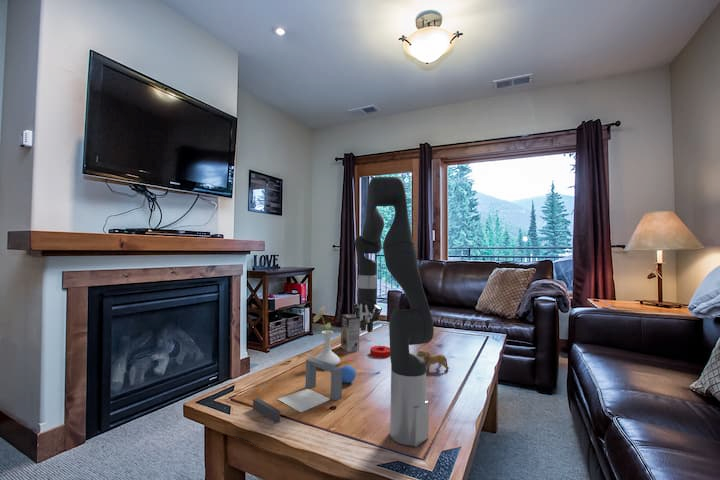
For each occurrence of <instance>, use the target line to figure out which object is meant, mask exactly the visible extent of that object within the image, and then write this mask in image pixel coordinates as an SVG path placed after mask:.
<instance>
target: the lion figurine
mask: <svg viewBox="0 0 720 480" xmlns="http://www.w3.org/2000/svg"><path fill="white" fill-rule="evenodd" d="M416 355H417V356H419V357H421V358H423V359H424V360H425V361H426V374H429V373H430V365H436V364H437V365H438V367H436V368H435V369H436V370H438V371H439V370H440V369H441V367H444V368H445V369H444V372H445V373H449V369H450V367H449V366H448V361H447V358H446V356H445V355H443V354H441V353H437V354H431V353H429V351H428V352H427V351H425V350H424V349H419V350H418V351H417V353H416Z"/></svg>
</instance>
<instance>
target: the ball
mask: <svg viewBox="0 0 720 480" xmlns="http://www.w3.org/2000/svg"><path fill="white" fill-rule="evenodd" d="M341 368H342V383H343V382H344V383H345V384H350V383H352V382H354V380H355V379H356V376H357V373H356V370H355V367H353V366H352V365H348V364H347V365H344V366H342V367H341Z"/></svg>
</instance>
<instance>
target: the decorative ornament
mask: <svg viewBox="0 0 720 480" xmlns="http://www.w3.org/2000/svg"><path fill="white" fill-rule="evenodd" d="M369 351H370V352H369V355H370V356H371V357H372V358H377V359H386V358H390V346H385V345H374V346H371V347H370V350H369Z"/></svg>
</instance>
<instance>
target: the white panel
mask: <svg viewBox="0 0 720 480" xmlns="http://www.w3.org/2000/svg"><path fill="white" fill-rule="evenodd" d="M330 400H331V398H329V397H326V396H324V395H322V394H321V393H319V392H316V391H314V390H312V389H311V388H310V389H308V388H306V387H305V388H304V389H302V390H298V391H296V392H293V393H290V394H288V395H285V396H282V397H279V398H277V401H279V402H281V403H282V402H283V403H282V404H284V405H286V406H288V407H290V408H291V409H293V410H295V411H297V412H299V413H303V412H305V411H308V410H310V409H313V408H315V407H317V406H320V405H322V404H325V403H326V402H328V401H330Z"/></svg>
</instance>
